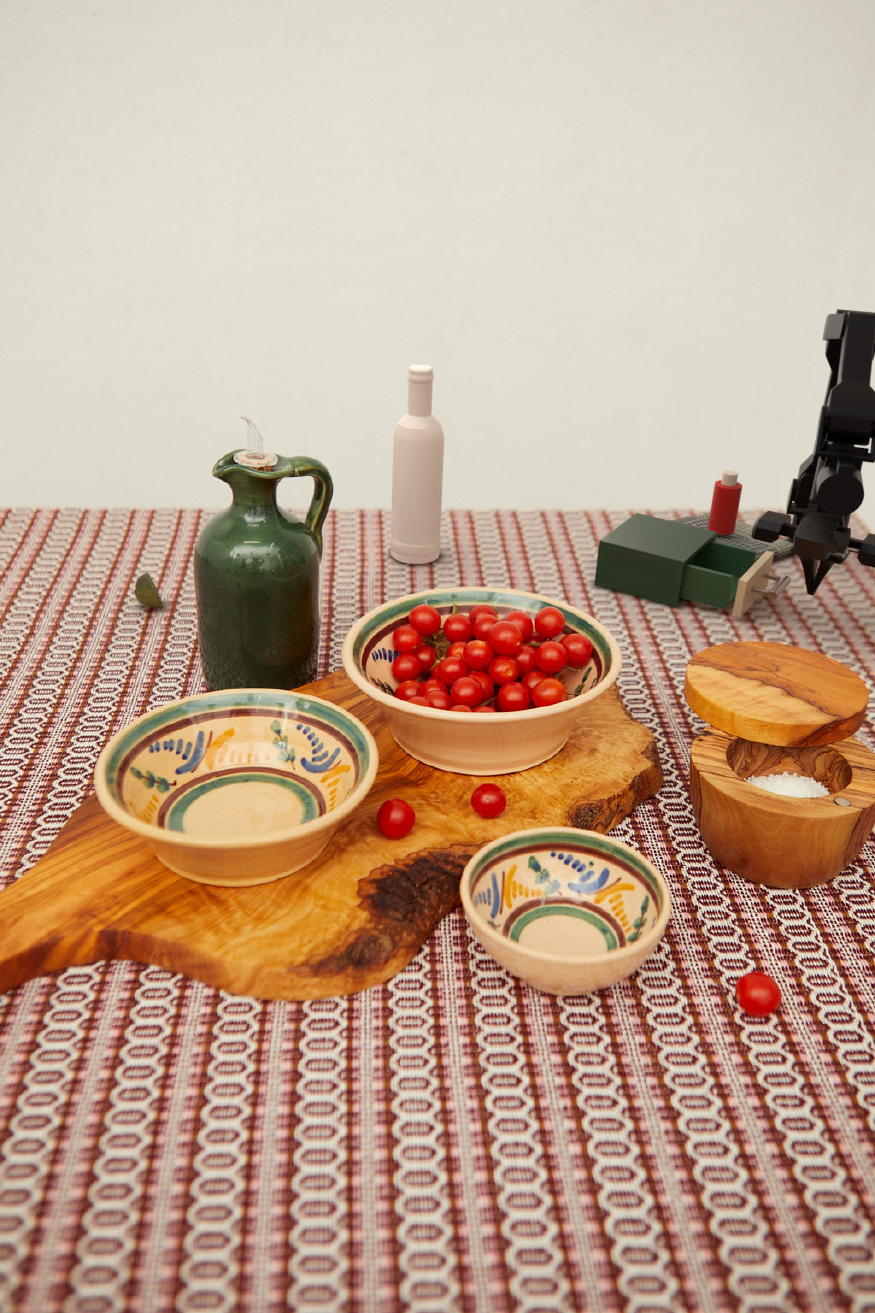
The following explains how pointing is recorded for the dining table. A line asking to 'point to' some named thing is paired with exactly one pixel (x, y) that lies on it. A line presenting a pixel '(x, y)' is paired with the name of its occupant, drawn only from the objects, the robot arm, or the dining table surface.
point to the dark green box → (649, 557)
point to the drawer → (729, 577)
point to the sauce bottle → (725, 504)
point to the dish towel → (740, 536)
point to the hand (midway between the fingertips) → (810, 594)
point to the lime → (147, 592)
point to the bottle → (417, 475)
